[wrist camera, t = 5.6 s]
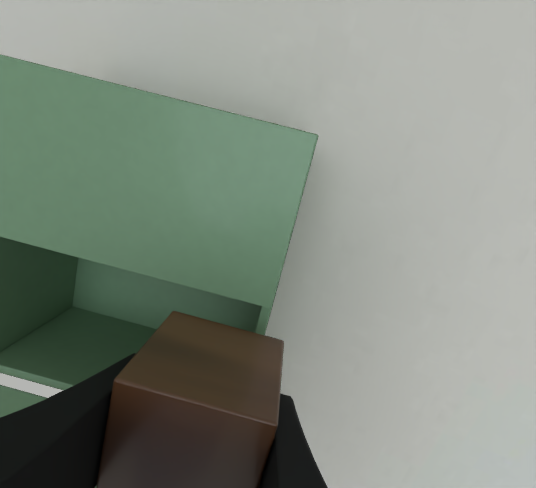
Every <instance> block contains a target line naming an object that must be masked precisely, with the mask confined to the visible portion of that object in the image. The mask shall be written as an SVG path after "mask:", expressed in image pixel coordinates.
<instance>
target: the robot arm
mask: <svg viewBox="0 0 536 488" xmlns="http://www.w3.org/2000/svg"><path fill="white" fill-rule="evenodd" d="M135 354H136V353H133V354H131V355H129V356H127V357H126V358H124V359H122V360H120V361H118V362H116V363H115V364H113V365H111V366H109V367H108V368H106V369H104V370H102V371H100V372H99V373H97V374H95V375H93V376H91V377H89V378H87V379H85V380H84V381H82V382H80V383H78V384H76V385H74V386H72V387H70V388H68V389H66V390H64V391H62V392H59V393H57V394H55V395H53V396H51V397H49V398H47V399H45V400H43V401H40V402H38V403H36V404H33V405H31V406H29V407H26V408H24V409H21V410H19V411H16V412H13V413H11V414H8V415H6V416H3V417H0V488H95V486H96V485H97V479H98V473H99V466H100V460H101V454H102V448H103V442H104V436H105V430H106V424H107V418H108V412H109V406H110V400H111V394H112V388H113V382H114V379H115V378H116V376H117V375H118V374H119V373H120V372H121V371H122V369H123V368H124V367H125V366H126V365H127V364H128V362H129V361H130V360H131V359H132V358H133V357H134V355H135ZM259 488H328V487H327V485H326V483H325V481H324V479H323V477H322V475H321V473H320V471H319V469H318V467H317V464H316V462H315V460H314V458H313V455H312V453H311V450H310V448H309V445H308V443H307V440H306V438H305V435H304V433H303V430H302V427H301V424H300V421H299V418H298V415H297V412H296V409H295V406H294V402H293V399H292V398H291V396H287V395H284V394H280V404H279V417H278V427H277V430H276V433H275V437H274V440H273V443H272V446H271V449H270V453H269V456H268V459H267V462H266V466H265V469H264V472H263V475H262V479H261V482H260V485H259Z"/></svg>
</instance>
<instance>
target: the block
mask: <svg viewBox="0 0 536 488" xmlns="http://www.w3.org/2000/svg"><path fill="white" fill-rule="evenodd" d="M283 349H284V341H282V340H279V339H276V338H272V337H268V336H265V335H261V334H258V333H254V332H250V331H247V330H243V329H239V328H236V327H232V326H228V325H225V324H221V323H217V322H214V321H210V320H206V319H203V318H199V317H195V316H192V315H188V314H184V313H181V312H177V311H172V312H171V314H170V315H169V316H168V317H167V318H166V319H165V321H164V322H163V323H162V324H161V325H160V326H159V328H158V329H157V330H156V331H155V332H154V333H153V335H152V336H151V337H150V338H149V339H148V340H147V342H146V343H145V344H144V345H143V346H142V347H141V348H140V350H139V351H138V352H137V353H136V354H135V355H134V357H133V358H132V359H131V360H130V361H129V362H128V364H127V365H126V366H125V367H124V368H123V369H122V371H121V372H120V373H119V374H118V375H117V376H116V378H115V379H114V382H113V388H112V394H111V400H110V406H109V412H108V418H107V424H106V430H105V436H104V442H103V448H102V454H101V460H100V466H99V473H98V479H97V485H96V488H259V485H260V482H261V479H262V475H263V472H264V469H265V466H266V462H267V459H268V456H269V453H270V449H271V446H272V443H273V440H274V437H275V433H276V430H277V427H278V417H279V404H280V390H281V376H282V363H283Z"/></svg>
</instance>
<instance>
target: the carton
mask: <svg viewBox="0 0 536 488" xmlns="http://www.w3.org/2000/svg"><path fill="white" fill-rule="evenodd" d="M317 139H318V135H317V134H313V133H309V132H305V131H301V130H297V129H293V128H289V127H286V126H282V125H278V124H274V123H270V122H266V121H262V120H258V119H254V118H250V117H246V116H242V115H238V114H234V113H230V112H226V111H222V110H218V109H214V108H210V107H206V106H202V105H198V104H194V103H191V102H187V101H183V100H179V99H175V98H171V97H167V96H163V95H159V94H155V93H151V92H147V91H143V90H139V89H135V88H131V87H127V86H123V85H119V84H115V83H111V82H107V81H103V80H99V79H95V78H92V77H88V76H84V75H80V74H76V73H72V72H68V71H64V70H60V69H56V68H52V67H48V66H44V65H40V64H36V63H32V62H28V61H24V60H20V59H16V58H12V57H8V56H4V55H0V373H3V374H7V375H10V376H14V377H18V378H21V379H25V380H29V381H32V382H36V383H39V384H43V385H46V386H50V387H54V388H57V389H61V390H66V389H68V388H70V387H72V386H74V385H76V384H78V383H80V382H82V381H84V380H85V379H87V378H89V377H91V376H93V375H95V374H97V373H99V372H100V371H102V370H104V369H106V368H108V367H109V366H111V365H113V364H115V363H116V362H118V361H120V360H122V359H124V358H126V357H127V356H129V355H131V354H133V353H137V352H138V351H139V350H140V348H141V347H142V346H143V345H144V344H145V343H146V342H147V340H148V339H149V338H150V337H151V336H152V335H153V333H154V332H155V331H156V330H157V329H158V328H159V326H160V325H161V324H162V323H163V322H164V321H165V319H166V318H167V317H168V316H169V315H170V314H171V312H172V311H177V312H181V313H184V314H188V315H192V316H195V317H199V318H203V319H206V320H210V321H214V322H217V323H221V324H225V325H228V326H232V327H236V328H239V329H243V330H247V331H250V332H254V333H258V334H261V335H265V331H266V328H267V324H268V320H269V317H270V313H271V309H272V305H273V302H274V298H275V294H276V291H277V287H278V283H279V280H280V276H281V272H282V268H283V265H284V261H285V257H286V254H287V250H288V246H289V243H290V239H291V235H292V232H293V228H294V224H295V220H296V217H297V213H298V209H299V206H300V202H301V198H302V195H303V191H304V187H305V183H306V180H307V176H308V172H309V169H310V165H311V161H312V158H313V154H314V150H315V147H316V143H317Z"/></svg>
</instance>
